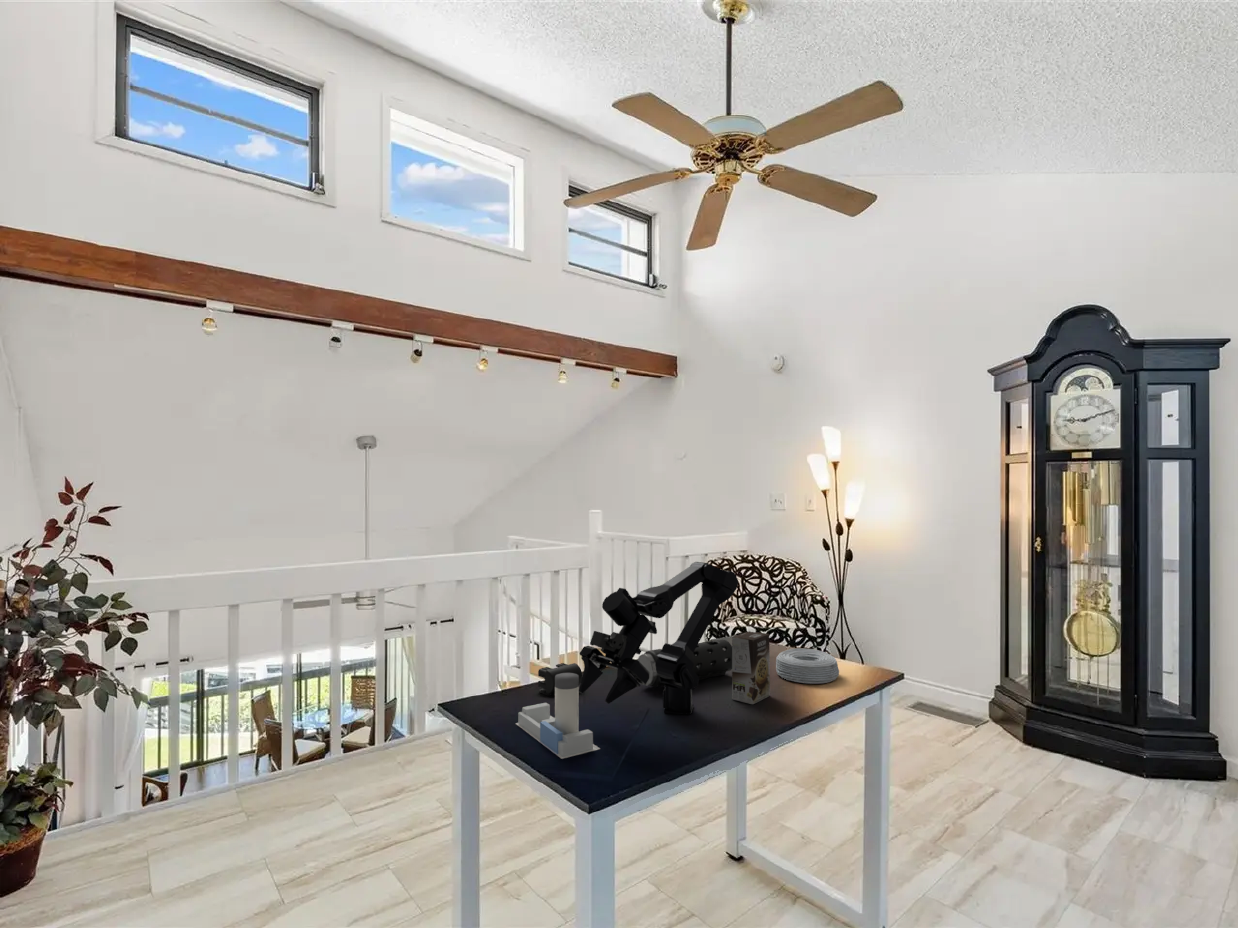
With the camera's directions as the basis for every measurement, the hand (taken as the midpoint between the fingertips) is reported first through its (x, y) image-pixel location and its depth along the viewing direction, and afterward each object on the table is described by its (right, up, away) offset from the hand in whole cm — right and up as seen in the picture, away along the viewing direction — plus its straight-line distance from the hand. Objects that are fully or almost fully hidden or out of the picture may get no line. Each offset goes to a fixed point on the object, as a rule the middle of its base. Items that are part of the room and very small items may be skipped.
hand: (593, 697), depth 147 cm
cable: (+59, -10, +45) cm, 75 cm away
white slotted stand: (-8, -9, -1) cm, 12 cm away
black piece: (-10, -10, +32) cm, 35 cm away
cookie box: (+40, -9, +26) cm, 48 cm away
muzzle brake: (+24, -10, +40) cm, 48 cm away
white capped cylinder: (-5, -8, -5) cm, 11 cm away
